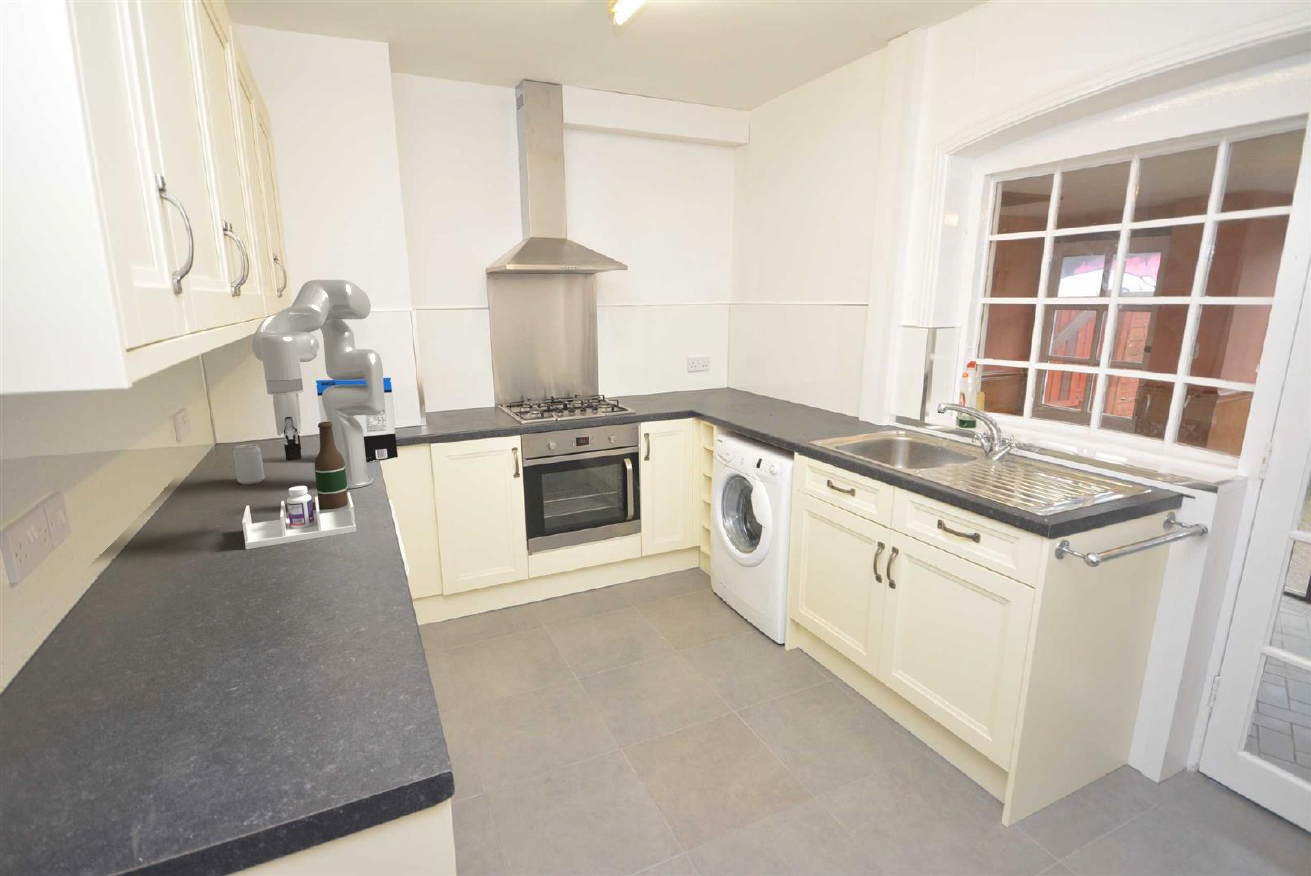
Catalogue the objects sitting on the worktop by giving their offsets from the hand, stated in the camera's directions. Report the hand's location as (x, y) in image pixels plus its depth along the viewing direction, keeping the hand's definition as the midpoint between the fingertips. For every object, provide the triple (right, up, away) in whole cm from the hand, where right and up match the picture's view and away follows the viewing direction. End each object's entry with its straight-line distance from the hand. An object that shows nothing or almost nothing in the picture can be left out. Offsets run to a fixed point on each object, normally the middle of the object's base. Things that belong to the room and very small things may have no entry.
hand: (294, 455), depth 153 cm
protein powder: (-19, -4, +75) cm, 78 cm away
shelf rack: (0, -19, +4) cm, 20 cm away
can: (-41, -10, +47) cm, 63 cm away
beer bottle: (-2, -15, +24) cm, 28 cm away
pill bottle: (0, -18, +3) cm, 18 cm away
